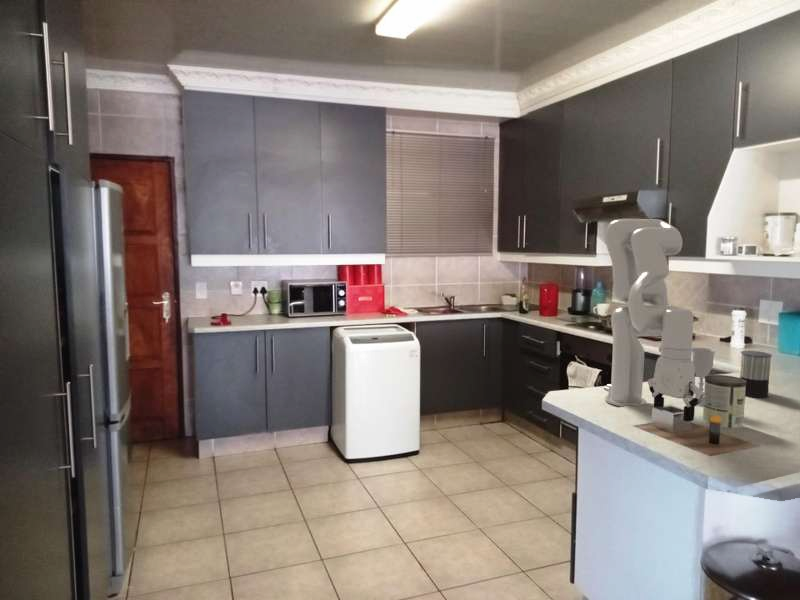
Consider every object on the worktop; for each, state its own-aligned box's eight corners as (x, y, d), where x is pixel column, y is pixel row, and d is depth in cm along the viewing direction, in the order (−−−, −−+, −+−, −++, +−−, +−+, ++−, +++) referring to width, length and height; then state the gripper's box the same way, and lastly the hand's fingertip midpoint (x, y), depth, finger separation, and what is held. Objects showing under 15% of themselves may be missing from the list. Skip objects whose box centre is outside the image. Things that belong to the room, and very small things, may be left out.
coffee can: (706, 419, 167) (709, 372, 166) (746, 426, 160) (750, 378, 159) (697, 427, 160) (700, 378, 158) (738, 435, 153) (742, 385, 151)
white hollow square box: (651, 424, 156) (652, 407, 156) (669, 422, 159) (670, 404, 159) (672, 432, 150) (673, 414, 149) (690, 429, 153) (692, 411, 152)
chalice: (698, 407, 179) (702, 352, 177) (682, 401, 186) (686, 348, 184) (717, 406, 181) (721, 351, 179) (700, 400, 188) (704, 347, 186)
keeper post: (705, 441, 143) (707, 413, 143) (712, 440, 144) (714, 412, 144) (715, 445, 141) (717, 416, 140) (722, 443, 142) (724, 415, 141)
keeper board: (632, 430, 156) (632, 425, 155) (678, 423, 163) (678, 418, 163) (710, 462, 134) (710, 455, 134) (759, 451, 141) (760, 445, 141)
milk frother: (773, 399, 190) (777, 356, 189) (722, 396, 193) (726, 353, 192) (756, 388, 204) (759, 348, 203) (709, 386, 207) (711, 346, 206)
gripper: (640, 350, 159) (637, 409, 160) (694, 360, 143) (691, 426, 144) (659, 348, 162) (657, 407, 163) (714, 358, 146) (711, 423, 147)
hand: (673, 416), depth 153 cm, fingers open, 9 cm apart
